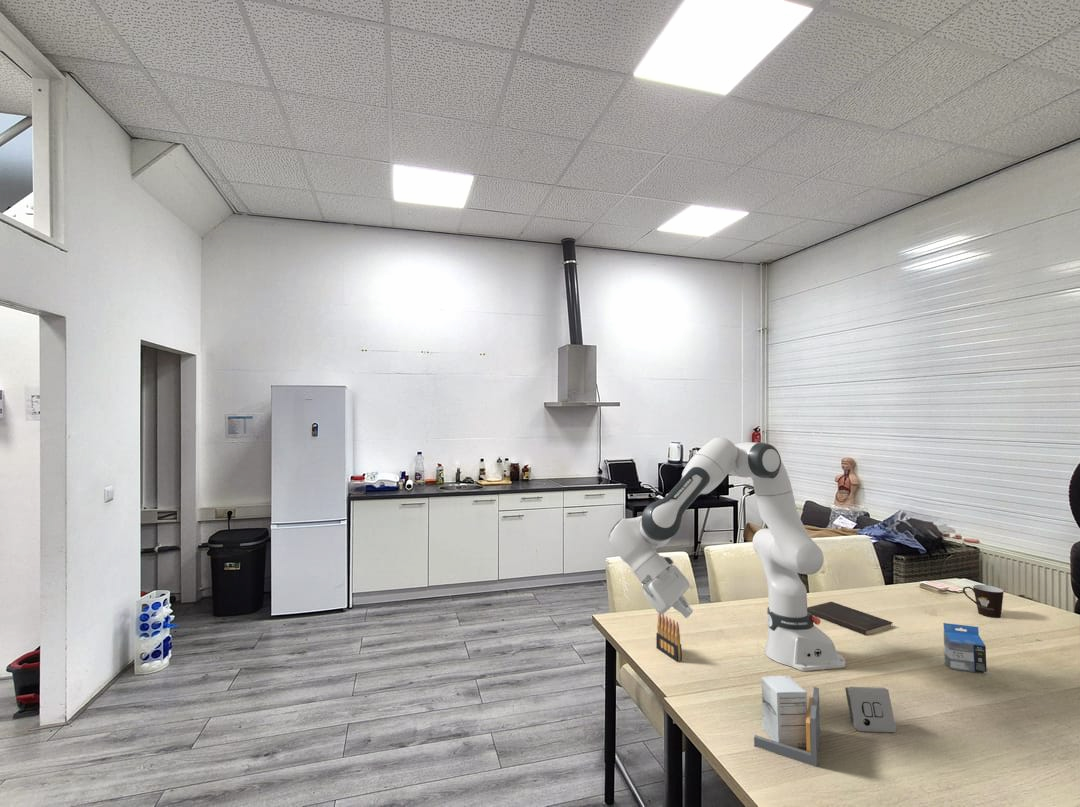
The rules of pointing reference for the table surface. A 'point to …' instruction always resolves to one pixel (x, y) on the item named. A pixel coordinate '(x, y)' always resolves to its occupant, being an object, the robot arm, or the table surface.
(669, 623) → the ammunition clip
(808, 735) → the orange flat slab
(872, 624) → the hardcover book
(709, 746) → the table surface
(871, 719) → the electrical switch
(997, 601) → the coffee mug
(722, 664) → the table surface
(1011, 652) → the table surface
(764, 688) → the supplement box
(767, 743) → the holder
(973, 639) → the ink cartridge box
